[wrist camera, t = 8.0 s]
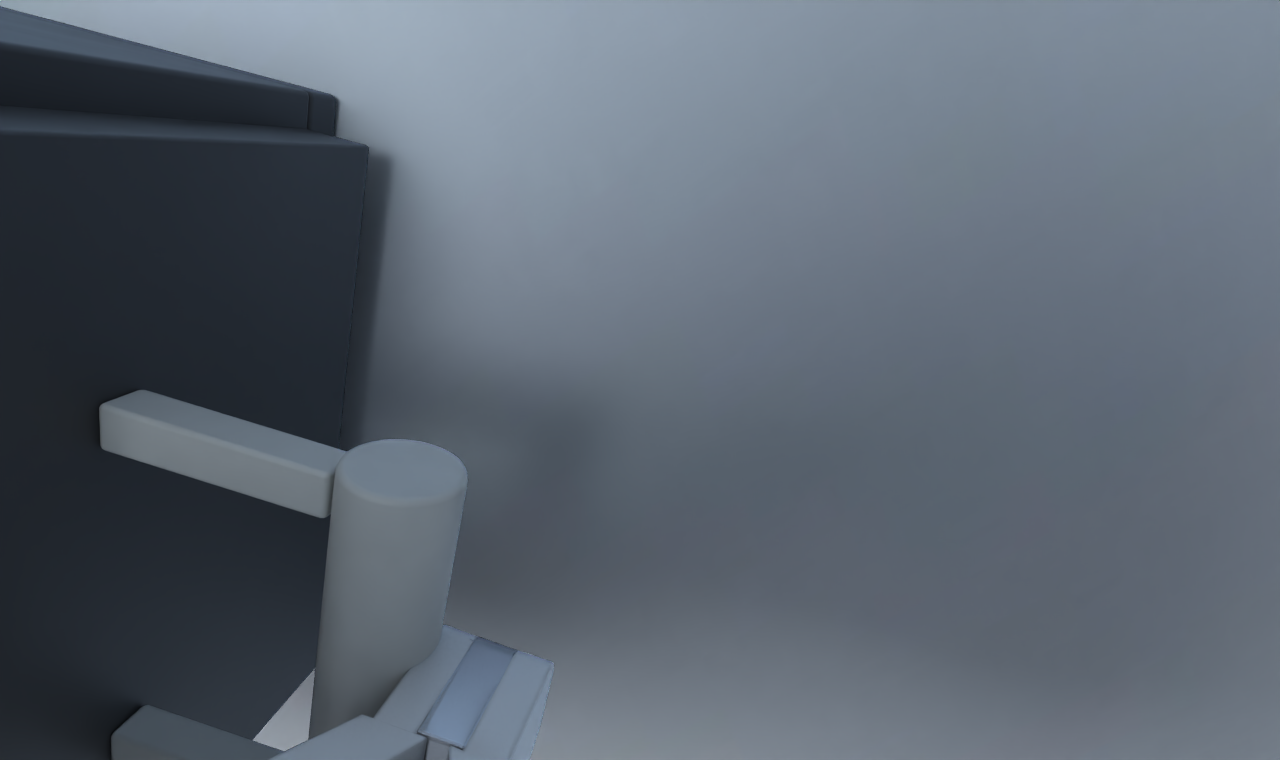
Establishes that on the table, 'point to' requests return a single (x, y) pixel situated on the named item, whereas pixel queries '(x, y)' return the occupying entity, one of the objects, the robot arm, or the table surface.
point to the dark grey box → (141, 80)
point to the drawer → (195, 445)
